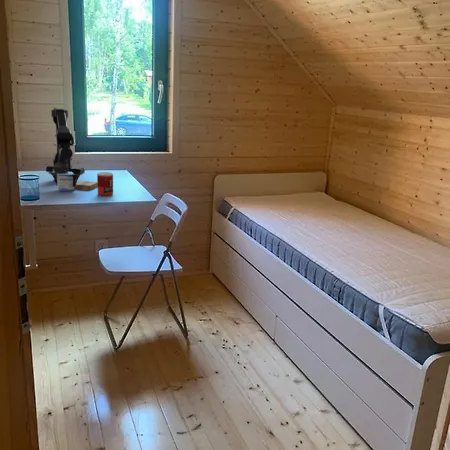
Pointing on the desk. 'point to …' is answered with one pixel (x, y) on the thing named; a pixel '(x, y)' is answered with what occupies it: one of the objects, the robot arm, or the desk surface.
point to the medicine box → (65, 182)
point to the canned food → (105, 183)
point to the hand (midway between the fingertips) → (65, 186)
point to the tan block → (85, 185)
